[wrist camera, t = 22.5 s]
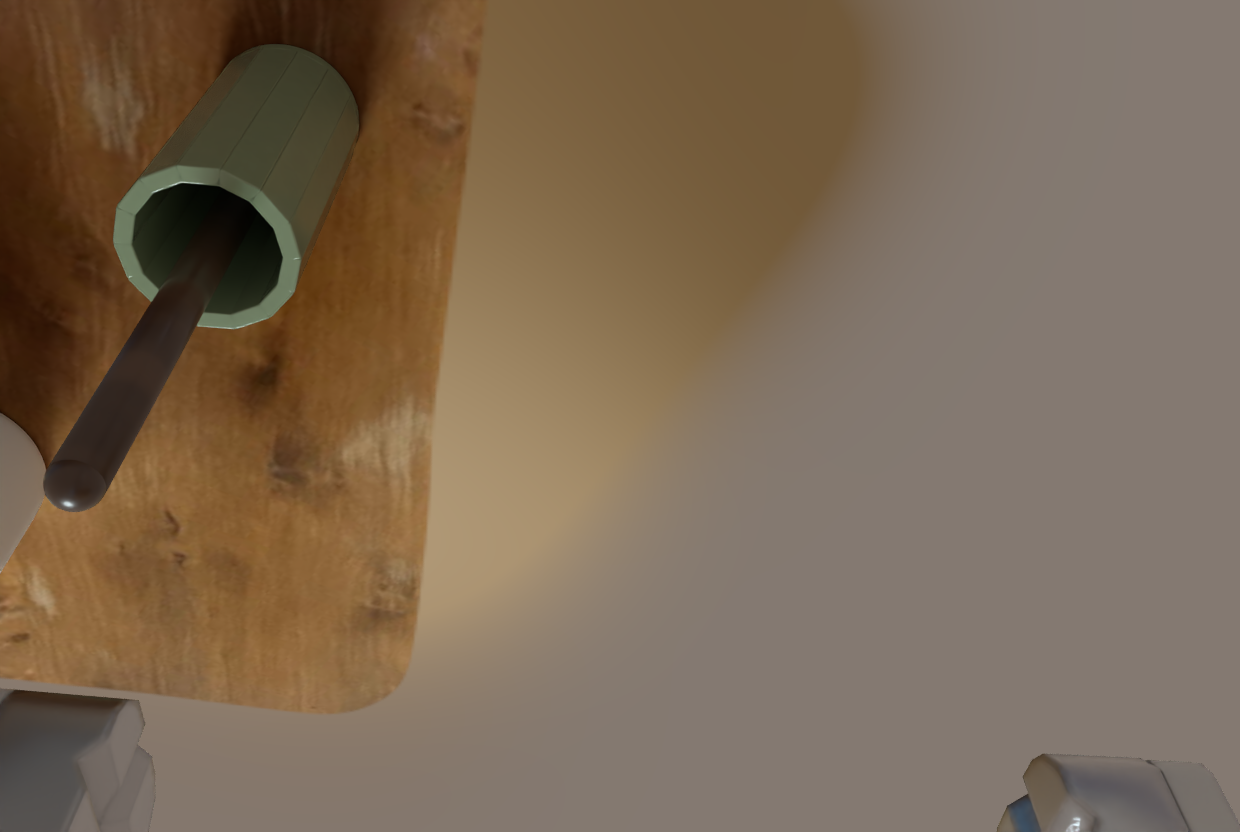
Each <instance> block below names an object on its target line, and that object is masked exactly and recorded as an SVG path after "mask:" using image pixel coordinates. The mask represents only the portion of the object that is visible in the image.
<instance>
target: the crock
mask: <svg viewBox="0 0 1240 832" xmlns="http://www.w3.org/2000/svg"><path fill="white" fill-rule="evenodd" d="M358 134H359V113H358V108H357V104H356V102H355V99H354V96H353V94H352V92H351V90H350V88H349V86H348V85H347V83H346V82H345V80H344V79H343V78H342V77H341V75H340V74H339V73H338V72H337V71H336V70H335V69H334V68H333V67H332V66H331V65H330V64H328V63H327V62H326V61H324V60H323V59H322V58H320V57H318V56H317V55H315V54H313V53H311V52H309V51H306V50H304V49H301V48H298V47H295V46H290V45H284V44H268V45H261V46H257V47H253V48H251V49H248V50H246V51H244V52H242V53H241V54H239V55H238V56H236V57H235V58H234V59H233V60H231V61H230V62H229V63H228V65H227V66H226V67H225V68H224V70H223V71H222V72H221V73H220V75H219V76H218V77H217V78H216V80H215V81H214V82H213V83H212V85H211V86H210V87H209V88H208V90H207V91H206V92H205V94H204V95H203V96H202V97H201V99H200V100H199V101H198V102H197V104H196V105H195V106H194V108H193V109H192V110H191V111H190V113H189V114H188V115H187V116H186V118H185V119H184V120H183V122H182V123H181V124H180V125H179V127H178V128H177V129H176V131H175V132H174V133H173V134H172V136H171V137H170V138H169V139H168V141H167V142H166V143H165V145H164V146H163V147H162V148H161V150H160V151H159V152H158V153H157V155H156V156H155V157H154V159H153V160H152V161H151V162H150V164H149V165H148V166H147V167H146V169H145V170H144V171H143V173H142V174H141V175H140V176H139V178H138V179H137V180H136V181H135V183H134V184H133V185H132V187H131V188H130V189H129V190H128V192H127V193H126V194H125V195H124V197H123V198H122V199H121V201H120V202H119V203H118V205H117V207H116V215H115V225H114V235H113V242H114V246H115V249H116V251H117V254H118V256H119V258H120V261H121V263H122V266H123V268H124V271H125V273H126V275H127V277H128V278H129V281H130V282H131V283H132V284H133V285H135V286H136V287H137V288H138V289H139V290H140V291H141V292H142V293H143V294H144V295H145V296H146V297H147V298H148V299H149V300H150V301H151V302H152V300H153V299H154V297H155V296H156V294H157V292H158V291H159V289H160V288H161V286H162V284H163V283H164V281H165V280H166V278H167V276H168V275H169V273H170V272H171V270H172V268H173V267H174V265H175V264H176V262H177V260H178V259H179V257H180V256H181V254H182V253H183V251H184V249H185V248H186V246H187V245H188V243H189V241H190V240H191V238H192V237H193V235H194V233H195V232H196V230H197V229H198V227H199V225H200V224H201V222H202V221H203V219H204V217H205V216H206V214H207V213H208V211H209V209H210V208H211V206H212V205H213V203H214V201H215V200H216V198H217V197H218V195H219V193H220V192H221V190H222V189H225V190H227V191H229V192H231V193H233V194H235V195H237V196H239V197H241V198H243V199H245V200H247V201H249V202H250V203H251V204H252V205H253V206H254V207H255V208H256V209H257V211H258V213H257V215H256V217H255V219H254V221H253V222H252V224H251V226H250V228H249V230H248V232H247V233H246V235H245V237H244V239H243V241H242V243H241V245H240V246H239V248H238V250H237V252H236V254H235V256H234V257H233V259H232V261H231V263H230V265H229V267H228V268H227V270H226V272H225V274H224V276H223V278H222V280H221V281H220V283H219V285H218V287H217V289H216V291H215V292H214V294H213V296H212V298H211V300H210V302H209V303H208V305H207V307H206V309H205V311H204V313H203V315H202V316H201V318H200V320H199V322H198V324H197V326H202V327H214V328H226V329H238V328H241V327H244V326H247V325H250V324H253V323H256V322H259V321H262V320H265V319H268V318H270V317H271V316H273V315H274V314H275V313H276V312H277V311H278V310H279V309H280V308H281V307H282V306H283V305H284V303H285V302H286V301H287V300H288V299H289V298H290V297H291V296H292V295H293V294H294V292H295V290H296V288H297V285H298V283H299V281H300V278H301V276H302V274H303V271H304V269H305V267H306V264H307V262H308V260H309V257H310V255H311V253H312V250H313V248H314V246H315V243H316V241H317V239H318V236H319V234H320V232H321V229H322V227H323V224H324V222H325V220H326V217H327V215H328V213H329V210H330V208H331V206H332V203H333V201H334V199H335V196H336V194H337V192H338V189H339V187H340V185H341V182H342V180H343V178H344V175H345V173H346V170H347V168H348V166H349V163H350V161H351V159H352V156H353V152H354V148H355V145H356V142H357V139H358Z"/></svg>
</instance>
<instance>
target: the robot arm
mask: <svg viewBox="0 0 1240 832" xmlns="http://www.w3.org/2000/svg"><path fill="white" fill-rule="evenodd" d="M144 726H145V721H144V718H143V714H142V711H141V706H140V703H139V700H129V699H118V698H107V697H95V696H82V695H71V694H60V693H48V692H36V691H24V690H14V689H0V832H149V827H150V822H151V818H152V811H153V807H154V802H155V770H154V765H153V760H152V756H151V755H149V754H148V753H147V752H146V751H145V750H144V749H142V748H141V747H140V746H138V745H137V744H138V742H139V739H140V737H141V734H142V732H143V729H144ZM1023 779H1024V782H1025V785H1026V788H1027V791H1028V794H1027V795H1025V796H1023V797H1022V798H1020V799H1018V800H1016V801H1015V802H1013V803H1011V804H1010V805H1008V806H1007V808H1006V810H1005V812H1004V814H1003V816H1002V818H1001V821H1000V823H999V825H998V827H997V832H1240V824H1239V822H1238V820H1237V818H1236V816H1235V814H1234V812H1233V811H1232V809H1231V807H1230V805H1229V803H1228V801H1227V799H1226V797H1225V796H1224V793H1223V791H1222V789H1221V788H1220V786H1219V784H1218V782H1217V780H1216V778H1215V777H1214V775H1213V774H1212V773H1211V772H1210V771H1209V770H1208V769H1207V768H1206V767H1205V766H1204V765H1203V764H1200V763H1192V762H1176V761H1156V760H1143V759H1141V758H1128V757H1106V756H1084V755H1063V754H1042V755H1040V756H1038V757H1036V758H1035V759H1033V760H1032V761H1031V763H1030V765H1029V767H1028V768H1027V770H1026V772H1025V773H1024V775H1023Z"/></svg>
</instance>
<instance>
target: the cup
mask: <svg viewBox="0 0 1240 832" xmlns="http://www.w3.org/2000/svg"><path fill="white" fill-rule="evenodd" d="M45 472H46V468H45V464H44V461H43V458H42V456H41V454H40V452H39V450H38V448H37V446H36V445H35V443H34V442H33V441H32V439H31V438H30V437H29V436H28V435H27V433H26V432H25V431H24V430H23V429H22V428H21V427H19V426H18V425H17V424H16V423H15V422H13V421H12V420H11V419H9V418H8V417H6V416H5V415H3V414H2V413H0V573H1V571H2V570H3V568H4V566H5V565H6V563H7V561H8V560H9V558H10V557H11V555H12V553H13V552H14V550H15V548H16V547H17V545H18V543H19V542H20V540H21V538H22V537H23V535H24V534H25V532H26V530H27V529H28V527H29V525H30V524H31V522H32V520H33V519H34V517H35V515H36V513H37V512H38V510H39V508H40V506H41V504H42V501H43V499H44V496H45V492H44V489H43V478H44V474H45Z"/></svg>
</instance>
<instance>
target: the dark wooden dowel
mask: <svg viewBox="0 0 1240 832" xmlns="http://www.w3.org/2000/svg"><path fill="white" fill-rule="evenodd" d="M257 213H258V211H257V209H256V208H255V207H254V206H253V205H252V204H251V203H250V202H249V201H247V200H245V199H243V198H241V197H239V196H237V195H235V194H233V193H231V192H229V191H227V190H225V189H222V190H221V192H220V193H219V195H218V197H217V198H216V200H215V201H214V203H213V205H212V206H211V208H210V209H209V211H208V213H207V214H206V216H205V217H204V219H203V221H202V222H201V224H200V225H199V227H198V229H197V230H196V232H195V233H194V235H193V237H192V238H191V240H190V241H189V243H188V245H187V246H186V248H185V249H184V251H183V253H182V254H181V256H180V257H179V259H178V260H177V262H176V264H175V265H174V267H173V268H172V270H171V272H170V273H169V275H168V276H167V278H166V280H165V281H164V283H163V284H162V286H161V288H160V289H159V291H158V292H157V294H156V296H155V297H154V299H153V300H152V302H151V304H150V305H149V307H148V308H147V310H146V312H145V313H144V315H143V316H142V318H141V320H140V321H139V323H138V324H137V326H136V328H135V329H134V331H133V332H132V334H131V336H130V337H129V339H128V340H127V342H126V344H125V345H124V347H123V348H122V350H121V352H120V353H119V355H118V356H117V358H116V360H115V361H114V363H113V364H112V366H111V367H110V369H109V371H108V372H107V374H106V375H105V377H104V379H103V380H102V382H101V383H100V385H99V387H98V388H97V390H96V391H95V393H94V395H93V396H92V398H91V399H90V401H89V403H88V404H87V406H86V407H85V409H84V411H83V412H82V414H81V415H80V417H79V419H78V420H77V422H76V423H75V425H74V427H73V428H72V430H71V431H70V433H69V435H68V436H67V438H66V439H65V441H64V443H63V444H62V446H61V447H60V449H59V451H58V452H57V454H56V455H55V457H54V459H53V460H52V462H51V463H50V465H49V467H48V468H47V470H46V472H45V474H44V478H43V489H44V492H45V495H46V497H47V498H48V500H49V501H50V502H51V503H52V504H53V505H54V506H56V507H57V508H59V509H62V510H64V511H69V512H80V511H85V510H87V509H90V508H92V507H93V506H95V505H96V504H98V503H99V502H100V501H101V499H102V498H103V497H104V495H105V493H106V491H107V489H108V488H109V486H110V484H111V482H112V480H113V478H114V477H115V475H116V473H117V471H118V469H119V467H120V466H121V464H122V462H123V460H124V458H125V456H126V454H127V453H128V451H129V449H130V447H131V445H132V443H133V442H134V440H135V438H136V436H137V434H138V432H139V431H140V429H141V427H142V425H143V423H144V421H145V419H146V418H147V416H148V414H149V412H150V410H151V408H152V407H153V405H154V403H155V401H156V399H157V397H158V396H159V394H160V392H161V390H162V388H163V386H164V384H165V383H166V381H167V379H168V377H169V375H170V373H171V372H172V370H173V368H174V366H175V364H176V362H177V361H178V359H179V357H180V355H181V353H182V351H183V349H184V348H185V346H186V344H187V342H188V340H189V338H190V337H191V335H192V333H193V331H194V329H195V327H196V326H197V324H198V322H199V320H200V318H201V316H202V315H203V313H204V311H205V309H206V307H207V305H208V303H209V302H210V300H211V298H212V296H213V294H214V292H215V291H216V289H217V287H218V285H219V283H220V281H221V280H222V278H223V276H224V274H225V272H226V270H227V268H228V267H229V265H230V263H231V261H232V259H233V257H234V256H235V254H236V252H237V250H238V248H239V246H240V245H241V243H242V241H243V239H244V237H245V235H246V233H247V232H248V230H249V228H250V226H251V224H252V222H253V221H254V219H255V217H256V215H257Z"/></svg>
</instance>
